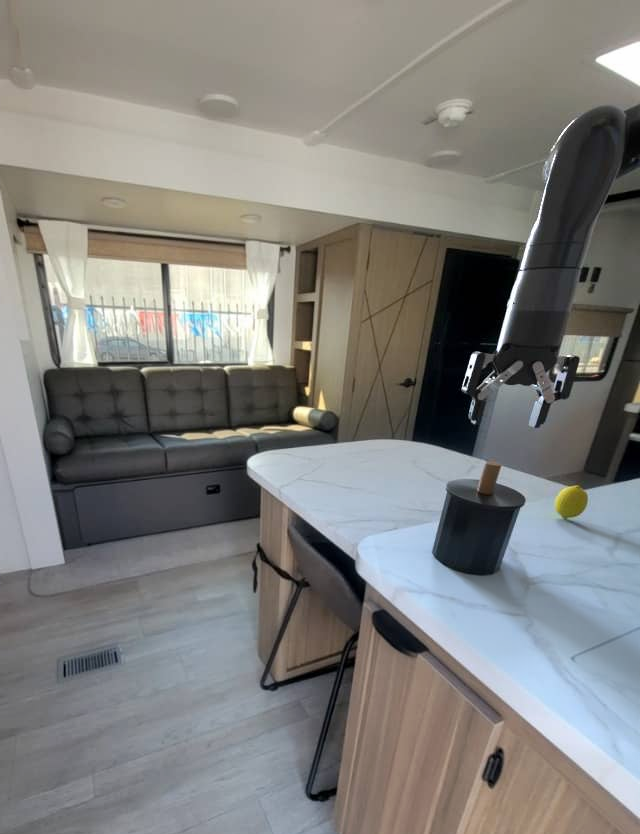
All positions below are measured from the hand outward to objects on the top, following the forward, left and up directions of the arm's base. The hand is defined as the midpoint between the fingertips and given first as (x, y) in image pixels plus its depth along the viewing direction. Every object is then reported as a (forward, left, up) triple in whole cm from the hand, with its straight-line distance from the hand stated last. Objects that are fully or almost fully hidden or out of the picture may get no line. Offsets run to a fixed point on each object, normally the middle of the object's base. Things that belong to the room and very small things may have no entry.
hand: (504, 425), depth 63 cm
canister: (0, 0, -25) cm, 25 cm away
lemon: (-28, -23, -25) cm, 44 cm away
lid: (0, 0, -12) cm, 12 cm away
